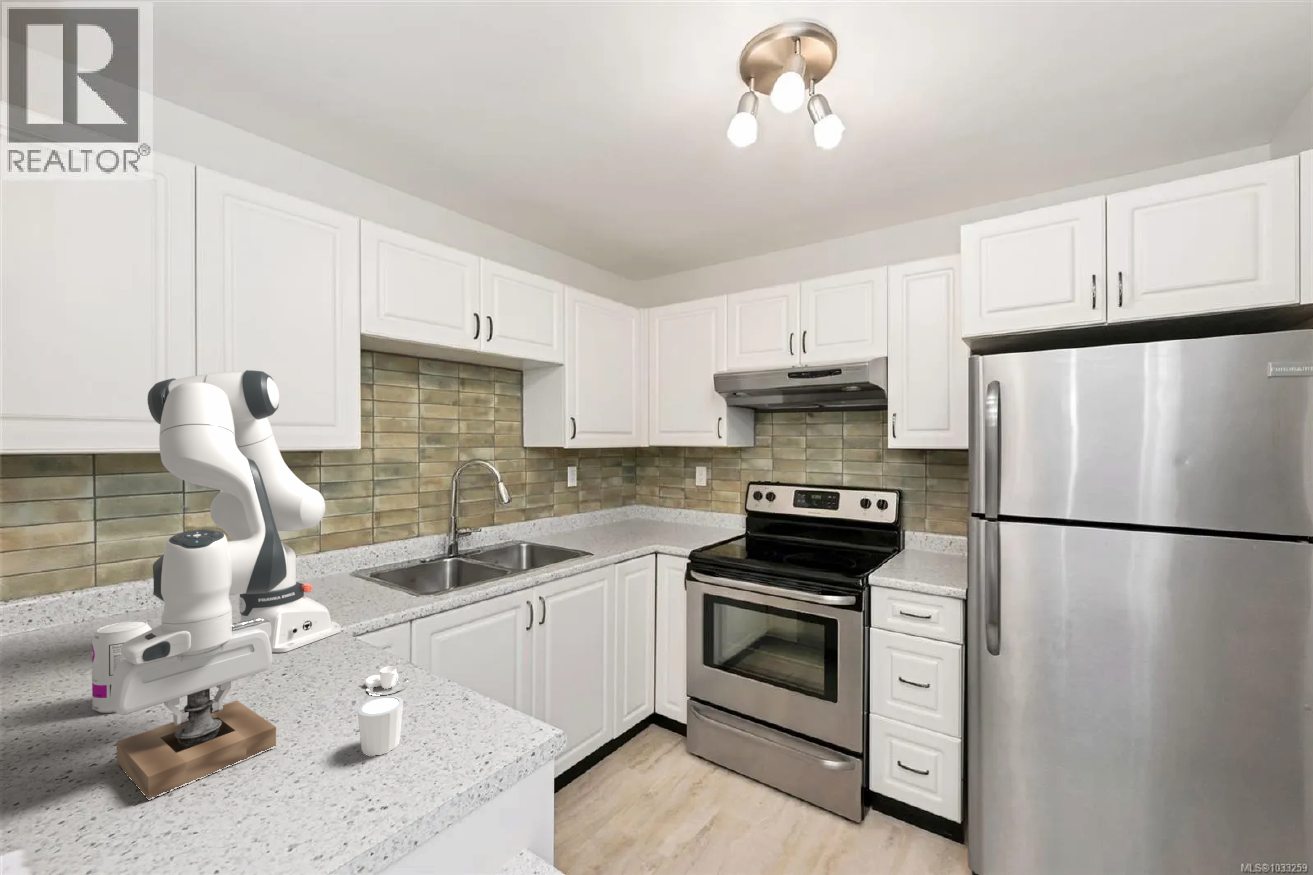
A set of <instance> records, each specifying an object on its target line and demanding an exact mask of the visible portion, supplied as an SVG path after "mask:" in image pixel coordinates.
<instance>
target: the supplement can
mask: <svg viewBox="0 0 1313 875" xmlns="http://www.w3.org/2000/svg"><path fill="white" fill-rule="evenodd" d="M152 629H153V628H152V627H151V626H150V625H149V623H148V621H147V620H143V619H141V620H128V621H120V622H115V623H113V624H108V625H105V626H102V627H100V628H98V629H97V630H96V633H95V635H94V636H93V637H92V639H91V669H92V670H91V682H92V683H91V687H92V688H91V691H92V692H91V697H92V698H91V702H92V705H91V707H92V710H94V711H97V712H98V713H101V714H109V713H110V714H111V713H116V712H115V711H113V709H112V708H111V706H110V694H111V685H112V679H113V675H114V671H115V669H116V667H117V666H118V664H119V663H120V662H121V661H122V660H124V658H123V656H122V654H121V645H122V644H123V643H125V642H126V641H128V640H130V639H133V638H135V637H137V636H139V635H141V634H143V633H145V632H148V631H150V630H152Z"/></svg>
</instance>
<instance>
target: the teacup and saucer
mask: <svg viewBox="0 0 1313 875" xmlns="http://www.w3.org/2000/svg"><path fill="white" fill-rule="evenodd" d="M397 670H398V669H397V667H396V666H393V665H391V666H390V665H389V666H385V667H383V668H381V669H380V670H379V674H373V675H370V676H368V677H367V678H366V679H364V684H365V686H366V687H367V688H366V689H365V692H366V691H370V689H368V687H370V688H374V687H376V688H379V687H381V688H382V689H383V688H384V689H383V690H385V688H391V687H393V688H394V687H395V686H396V684H397V683H398V682H397V681H398V678H400V677H399V674H398V672H397ZM406 682H409V681H408V680H407V681H406ZM374 689H375V688H374ZM391 689H392V688H391ZM371 695H372V697H381V696H380V695H376V694H371V693H369V696H371Z"/></svg>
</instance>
